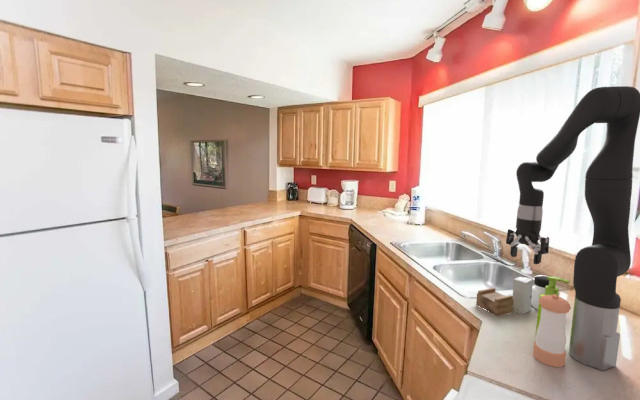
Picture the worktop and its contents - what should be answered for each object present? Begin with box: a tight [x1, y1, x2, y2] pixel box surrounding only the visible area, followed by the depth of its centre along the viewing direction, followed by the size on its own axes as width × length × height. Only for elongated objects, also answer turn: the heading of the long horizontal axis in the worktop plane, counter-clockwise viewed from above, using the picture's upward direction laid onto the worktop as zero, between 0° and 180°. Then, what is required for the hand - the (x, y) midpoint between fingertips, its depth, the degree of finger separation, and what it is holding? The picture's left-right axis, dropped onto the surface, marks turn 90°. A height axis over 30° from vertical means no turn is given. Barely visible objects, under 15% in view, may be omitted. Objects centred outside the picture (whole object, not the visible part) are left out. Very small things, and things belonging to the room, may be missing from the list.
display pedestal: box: [475, 287, 514, 317], centre depth 115 cm, size 9×8×6 cm
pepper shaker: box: [532, 294, 572, 368], centre depth 85 cm, size 7×7×19 cm
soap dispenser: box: [535, 275, 570, 334], centre depth 95 cm, size 6×7×20 cm
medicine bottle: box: [531, 274, 560, 311], centre depth 116 cm, size 7×7×12 cm
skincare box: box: [512, 276, 534, 315], centre depth 113 cm, size 6×4×12 cm
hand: (524, 260), depth 112 cm, fingers open, 8 cm apart
